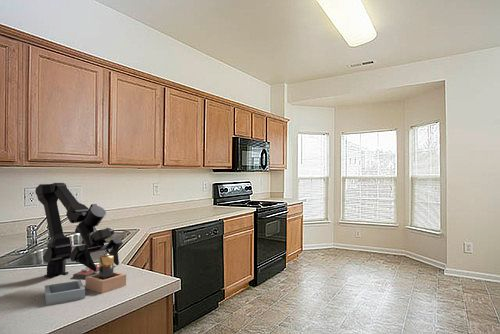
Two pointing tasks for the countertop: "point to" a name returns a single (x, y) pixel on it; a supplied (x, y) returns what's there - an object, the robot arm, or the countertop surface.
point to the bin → (105, 282)
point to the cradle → (64, 292)
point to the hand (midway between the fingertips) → (107, 267)
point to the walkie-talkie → (86, 273)
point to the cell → (106, 266)
